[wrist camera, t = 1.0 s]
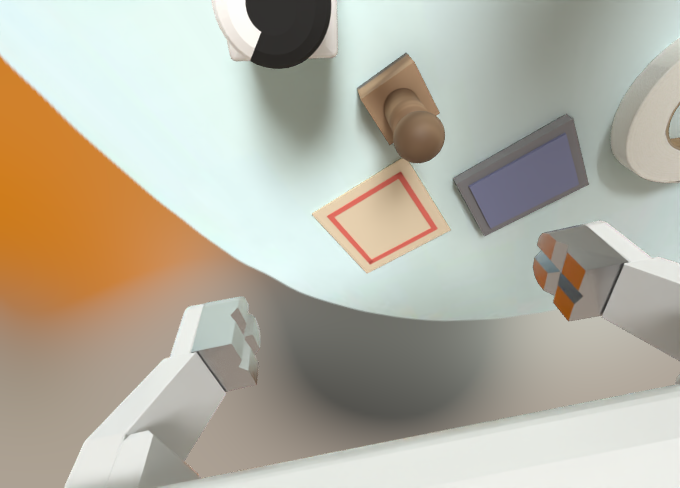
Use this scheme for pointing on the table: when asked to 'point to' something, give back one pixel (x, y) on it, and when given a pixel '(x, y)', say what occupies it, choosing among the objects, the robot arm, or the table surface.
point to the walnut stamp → (404, 110)
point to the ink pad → (524, 176)
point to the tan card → (383, 217)
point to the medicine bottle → (278, 30)
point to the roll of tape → (650, 120)
